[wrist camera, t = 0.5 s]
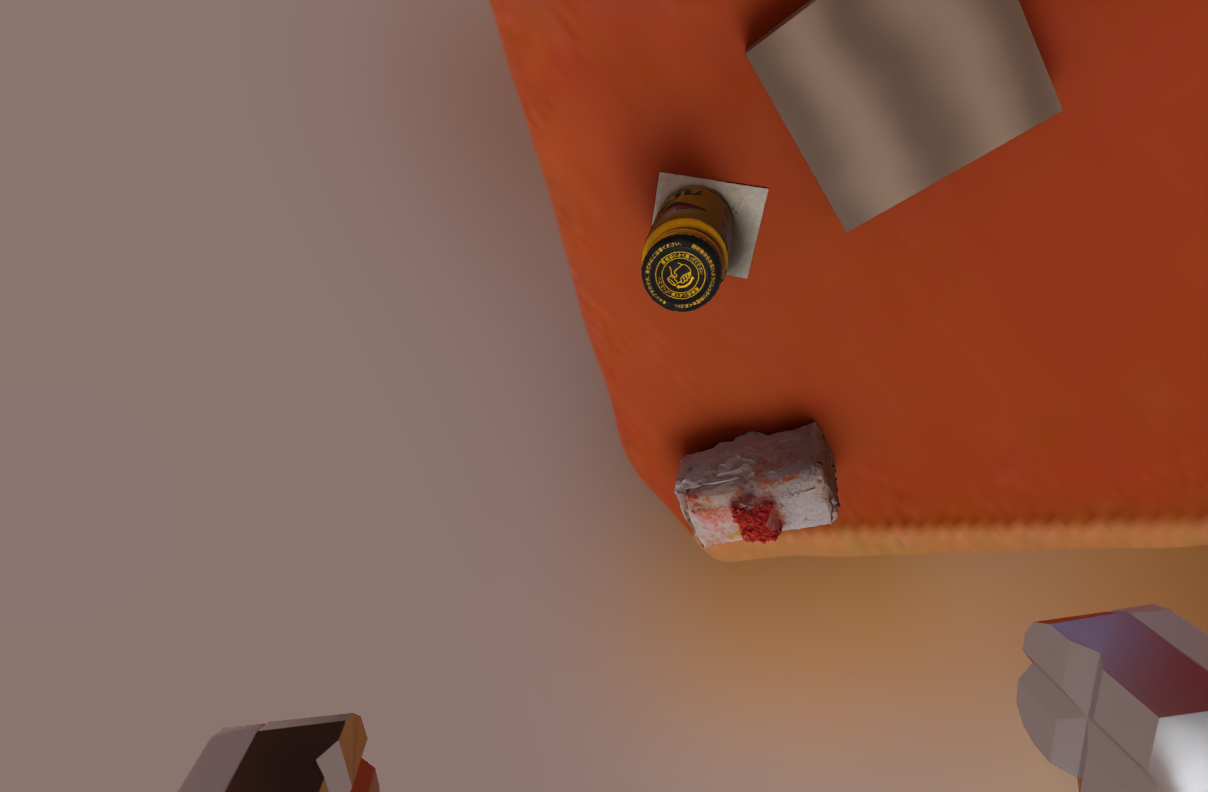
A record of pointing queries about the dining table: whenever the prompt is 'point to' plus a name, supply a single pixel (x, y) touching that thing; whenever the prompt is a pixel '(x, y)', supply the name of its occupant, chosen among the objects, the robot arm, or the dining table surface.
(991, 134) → the base
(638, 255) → the dining table surface
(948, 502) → the dining table surface
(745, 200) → the condiment
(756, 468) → the food item
